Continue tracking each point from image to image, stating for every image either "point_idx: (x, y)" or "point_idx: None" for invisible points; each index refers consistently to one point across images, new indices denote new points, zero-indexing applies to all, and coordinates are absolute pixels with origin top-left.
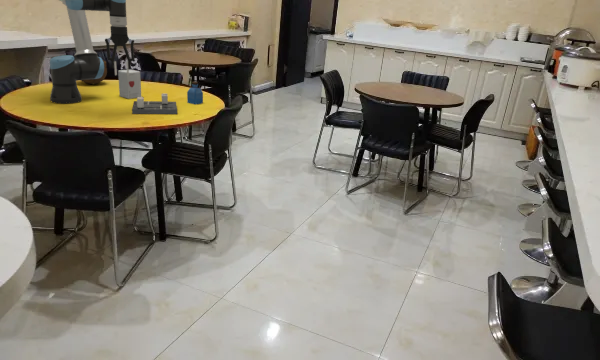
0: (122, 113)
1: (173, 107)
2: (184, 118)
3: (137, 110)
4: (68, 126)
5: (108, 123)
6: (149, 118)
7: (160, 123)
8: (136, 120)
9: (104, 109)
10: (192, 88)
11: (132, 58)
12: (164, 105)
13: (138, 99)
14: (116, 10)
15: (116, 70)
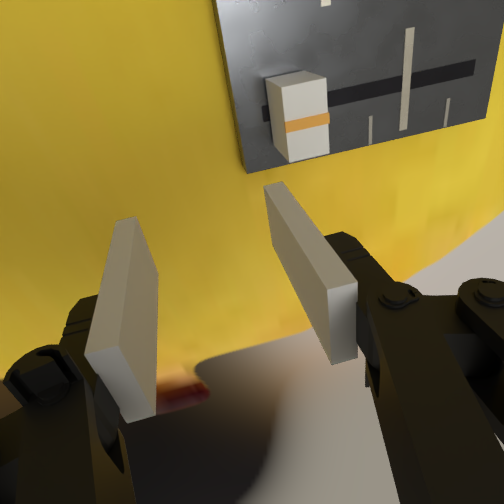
0: (186, 165)
1: (477, 62)
2: (480, 188)
3: (274, 164)
4: None
5: (189, 334)
6: (333, 226)
7: None
8: (284, 270)
9: (31, 85)
10: None
11: (483, 387)
12: (432, 7)
13: (298, 159)
14: None
15: (148, 285)
